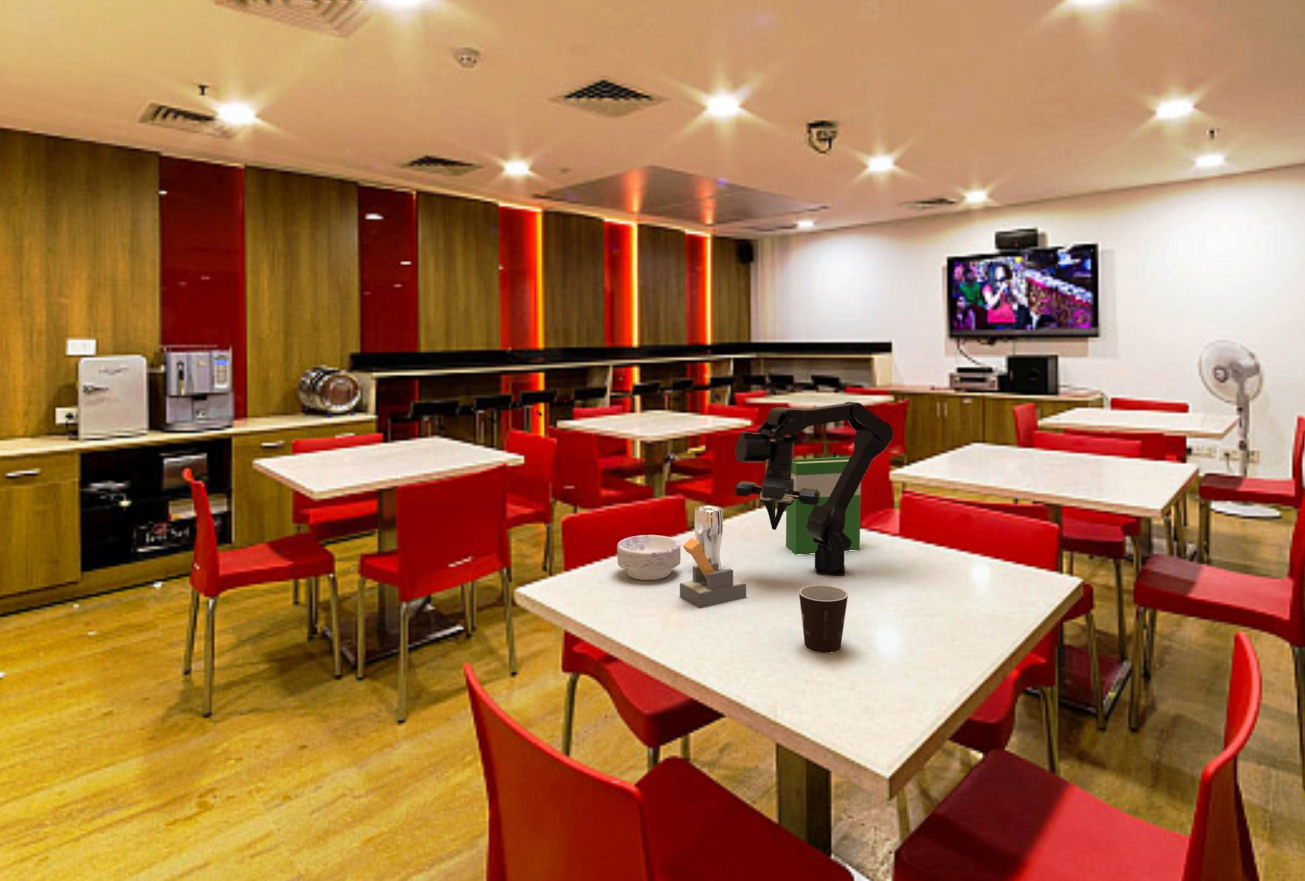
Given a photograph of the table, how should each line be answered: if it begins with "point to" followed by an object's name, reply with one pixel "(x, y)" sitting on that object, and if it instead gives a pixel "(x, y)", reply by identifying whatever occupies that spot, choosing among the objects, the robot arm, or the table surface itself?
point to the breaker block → (712, 587)
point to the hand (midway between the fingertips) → (774, 529)
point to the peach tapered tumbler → (709, 531)
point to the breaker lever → (698, 556)
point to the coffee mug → (823, 617)
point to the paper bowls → (648, 556)
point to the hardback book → (823, 479)
